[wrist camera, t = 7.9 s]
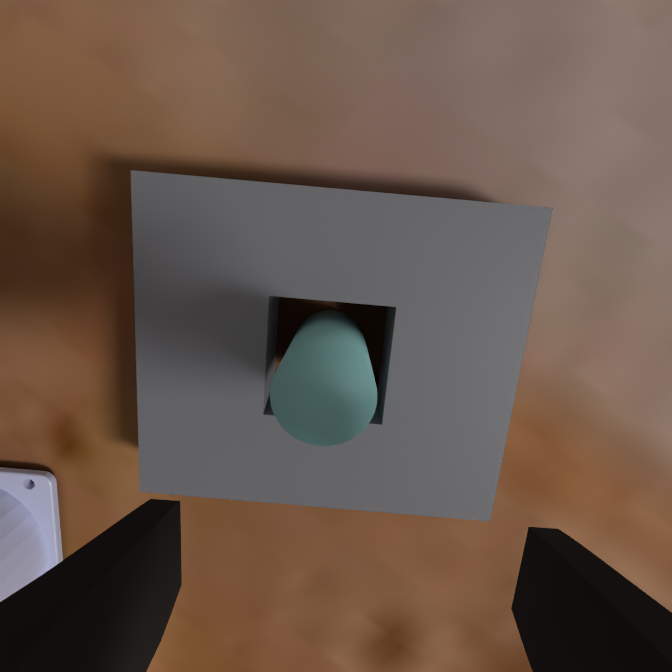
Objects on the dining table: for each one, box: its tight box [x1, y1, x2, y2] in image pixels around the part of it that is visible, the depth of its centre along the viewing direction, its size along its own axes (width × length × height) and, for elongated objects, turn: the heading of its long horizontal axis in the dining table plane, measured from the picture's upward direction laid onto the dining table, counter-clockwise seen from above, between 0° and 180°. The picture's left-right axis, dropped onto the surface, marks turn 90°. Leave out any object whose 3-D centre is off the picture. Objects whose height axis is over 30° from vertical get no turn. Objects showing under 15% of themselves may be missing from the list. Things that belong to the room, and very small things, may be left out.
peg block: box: [131, 170, 553, 521], centre depth 16 cm, size 14×12×2 cm
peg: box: [270, 310, 377, 446], centre depth 14 cm, size 3×3×6 cm
